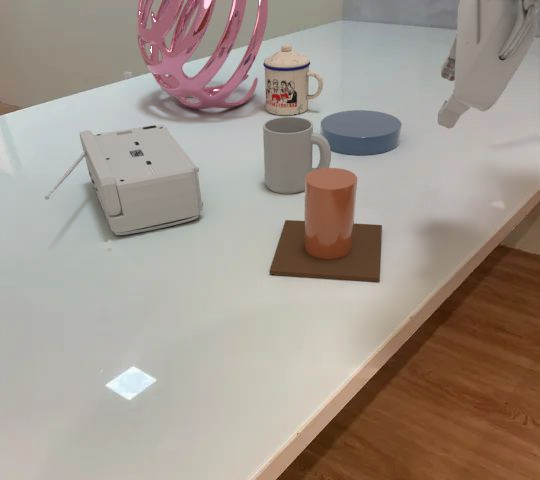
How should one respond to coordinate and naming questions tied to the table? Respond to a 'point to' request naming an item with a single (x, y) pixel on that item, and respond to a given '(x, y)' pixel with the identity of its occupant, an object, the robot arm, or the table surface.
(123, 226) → the radio
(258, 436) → the table surface
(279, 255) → the mat
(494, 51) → the robot arm
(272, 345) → the table surface
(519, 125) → the table surface
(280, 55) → the teacup with lid
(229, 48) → the spiral basket
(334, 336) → the table surface
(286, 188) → the cup
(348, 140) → the stand
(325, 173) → the orange upright cylinder
